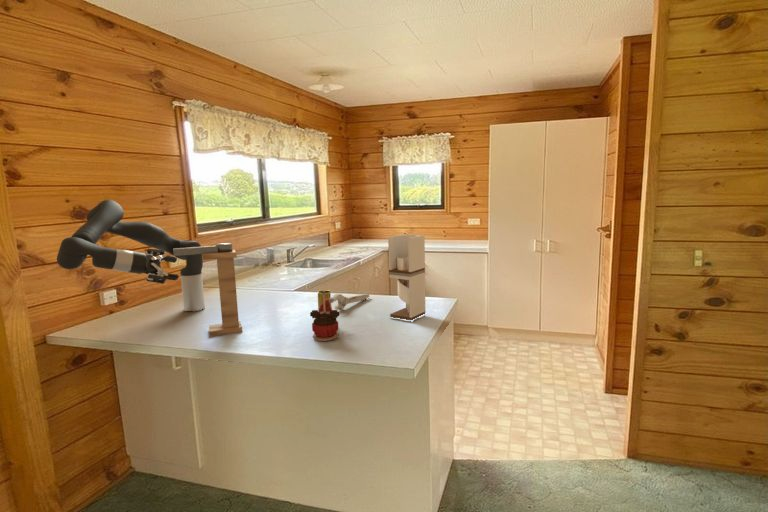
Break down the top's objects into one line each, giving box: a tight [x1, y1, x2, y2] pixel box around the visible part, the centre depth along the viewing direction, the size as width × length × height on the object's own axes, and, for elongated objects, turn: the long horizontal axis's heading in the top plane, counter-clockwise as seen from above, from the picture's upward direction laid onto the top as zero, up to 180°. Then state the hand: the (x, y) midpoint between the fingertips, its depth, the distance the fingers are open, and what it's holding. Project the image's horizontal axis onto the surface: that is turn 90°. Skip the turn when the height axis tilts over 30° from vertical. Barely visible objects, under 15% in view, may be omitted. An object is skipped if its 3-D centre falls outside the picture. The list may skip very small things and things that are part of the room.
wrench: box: [332, 293, 370, 311], centre depth 207 cm, size 8×2×30 cm
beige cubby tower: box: [387, 233, 426, 320], centre depth 183 cm, size 11×11×35 cm
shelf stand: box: [202, 249, 243, 337], centre depth 171 cm, size 9×12×32 cm
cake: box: [309, 291, 340, 342], centre depth 161 cm, size 11×9×18 cm
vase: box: [317, 289, 333, 311], centre depth 176 cm, size 6×6×14 cm
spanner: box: [173, 242, 234, 257], centre depth 167 cm, size 6×21×3 cm, turn 117°
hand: (177, 268), depth 162 cm, fingers open, 8 cm apart
